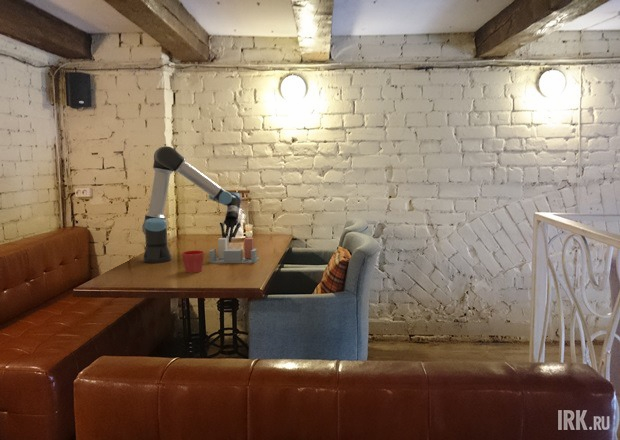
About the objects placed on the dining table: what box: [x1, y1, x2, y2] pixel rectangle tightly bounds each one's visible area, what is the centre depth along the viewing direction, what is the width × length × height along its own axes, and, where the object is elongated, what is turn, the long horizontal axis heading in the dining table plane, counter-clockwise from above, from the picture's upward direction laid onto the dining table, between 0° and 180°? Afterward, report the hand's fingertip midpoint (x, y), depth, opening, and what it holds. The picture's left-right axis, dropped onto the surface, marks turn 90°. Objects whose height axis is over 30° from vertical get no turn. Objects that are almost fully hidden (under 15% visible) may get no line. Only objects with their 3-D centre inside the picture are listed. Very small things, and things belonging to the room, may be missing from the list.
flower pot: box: [181, 250, 205, 274], centre depth 253 cm, size 11×11×10 cm
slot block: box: [208, 248, 260, 264], centre depth 279 cm, size 25×12×7 cm, turn 85°
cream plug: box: [217, 237, 228, 259], centre depth 283 cm, size 4×4×11 cm
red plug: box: [243, 237, 255, 259], centre depth 281 cm, size 4×4×11 cm
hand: (226, 246), depth 291 cm, fingers closed
